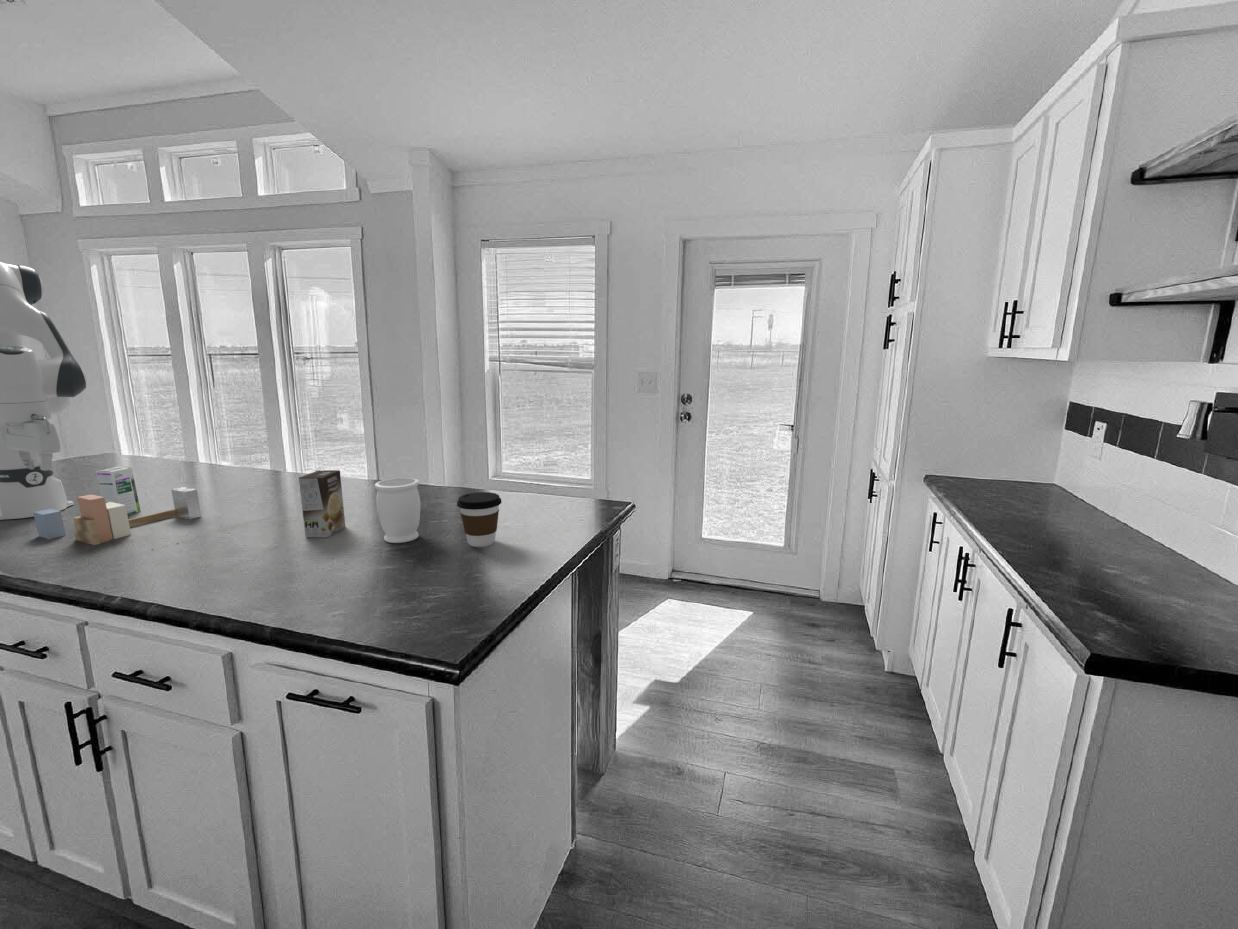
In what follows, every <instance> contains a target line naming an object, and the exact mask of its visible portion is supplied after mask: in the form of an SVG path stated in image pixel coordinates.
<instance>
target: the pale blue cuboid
mask: <svg viewBox="0 0 1238 929" xmlns="http://www.w3.org/2000/svg"><path fill="white" fill-rule="evenodd" d="M61 511H62V510H60V511H58V510H54V509H46V510H41V511H36V512H33V514H34V517H33V518H34V522H35V526H36V529H37V535H38V537H39V538H42V539H43V538H44V539H46V540H51V539H55V538H60V537H64V536H66V531H65V526H64V520H63V516H62V513H61Z"/></svg>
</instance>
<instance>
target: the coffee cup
mask: <svg viewBox="0 0 1238 929" xmlns="http://www.w3.org/2000/svg"><path fill="white" fill-rule="evenodd" d="M501 504H502V498H501V497H500V495H499V494H498V493H495V492H490V491H488V492H487V491H480V492H478V491H477V492H470V493H466V494H462V495H461V496H459V497H458V499H457V501H456V507H458V508H459V510H460V518H461V521H462V527H463V529H464V533H465V535H466V536H465V537H466V541H467V543H468V544H469V546H471V547H474V548H483V547H484V548H485V547H488V546H489V547H490V546H491V545H493V544H494V542H495V540H496V534H497V531H498V522H499V514H500V509H499V508H500V505H501Z"/></svg>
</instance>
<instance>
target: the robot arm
mask: <svg viewBox="0 0 1238 929" xmlns="http://www.w3.org/2000/svg"><path fill="white" fill-rule="evenodd" d="M44 291H45V286H44V282H43V280H42V277H40V275H39V272H37V271H36V269H34V268H32V267H29V266H26V265H20V264H17V265H15V264H11V263H4V262H1V261H0V521H3V520H4V521H5V520H17V519H18V520H19V519H27V518H34V514H33V512H36V511H41V510H46V509H54V510H58V511H62V510H65V509H67V507H71V506H73V505H74V504H75V502H74V501H73V500H68V499H67V495H66V492H65V489H64V485H63V483H62V481H61V479H59V478H57V477H55V476H54V468H53V465H52V462H53V457H54V456H53V455H54V454H55V453H59V452H61V449H62V447H61V445H62V444H61V441H60V438H59V435H58V432H57V429H56V427H55V424H54V423H53V422H52V421H50V420H51V419H52V416H55V415H60V414H64V413H65V412H66V411H67V410H68V408H69V406H70V403H71V398H75V397H77V396H79V394H81V393H82V392H84V391H85V390H86V388H87V377H86V374H85V372H84V370H83V368H82V367H81V365H80V364H79V363H78V361H77V360H76V359H75V357H74V355H73V353H71V351H70V349H69V348H68V345H67V344H66V342H65V341H64V339H63V336H62V335H61V334H60V332H59V331H58V329H57V327H56V325H55V324H54V322H53V321H52V319H51V318H50V316H49V315H48V314H47V313H45V312H44V311H41V310H39V309H37V308H35V307H34V306H32V305H35V304H37V302H39V301H40V300H41V299H42V297H43V294H44ZM23 336H25V337H28V338H31V339H33V340H34V339H35V340H37V341H38V342H39V343H40V344H42V346H43V348H44V349H45V351H46V353H47V354H48V356H49V359H38V358H37V356H36V354H35V352H34V350H33V349H32V348H29V347H26V345H25V342H24V341H25V340H24V337H23Z"/></svg>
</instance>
